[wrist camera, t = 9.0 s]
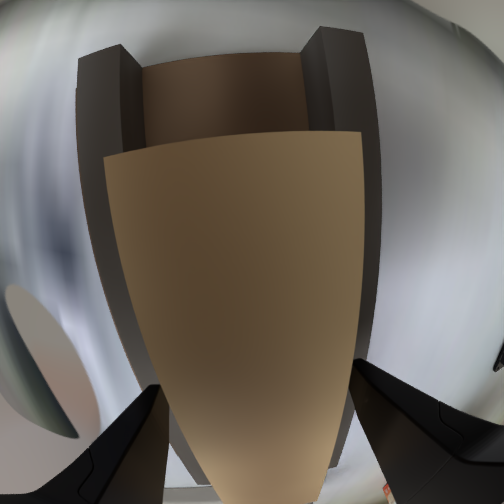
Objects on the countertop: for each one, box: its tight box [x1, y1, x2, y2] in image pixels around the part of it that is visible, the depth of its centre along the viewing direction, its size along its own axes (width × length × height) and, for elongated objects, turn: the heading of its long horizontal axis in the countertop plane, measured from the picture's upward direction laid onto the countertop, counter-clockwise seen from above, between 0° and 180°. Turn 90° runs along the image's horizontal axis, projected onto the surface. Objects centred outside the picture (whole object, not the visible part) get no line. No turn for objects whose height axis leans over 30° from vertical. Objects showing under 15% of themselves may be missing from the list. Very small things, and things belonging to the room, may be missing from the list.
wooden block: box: [103, 131, 365, 504], centre depth 9 cm, size 4×14×6 cm, turn 5°
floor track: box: [76, 26, 382, 485], centre depth 11 cm, size 12×22×4 cm, turn 5°
